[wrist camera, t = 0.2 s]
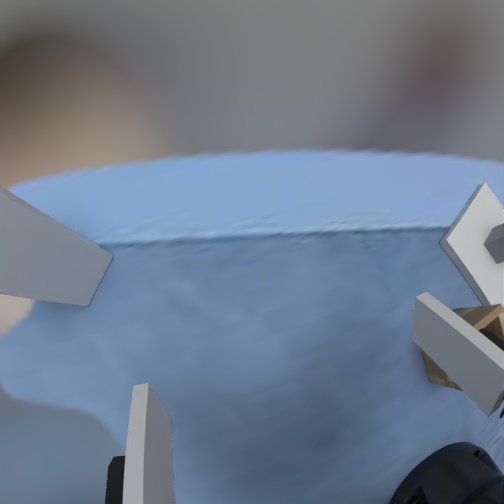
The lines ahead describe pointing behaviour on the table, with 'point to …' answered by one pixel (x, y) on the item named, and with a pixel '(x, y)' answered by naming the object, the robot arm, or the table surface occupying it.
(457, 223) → the post board
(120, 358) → the table surface
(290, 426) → the table surface
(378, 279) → the table surface
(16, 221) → the milk
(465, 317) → the collar
